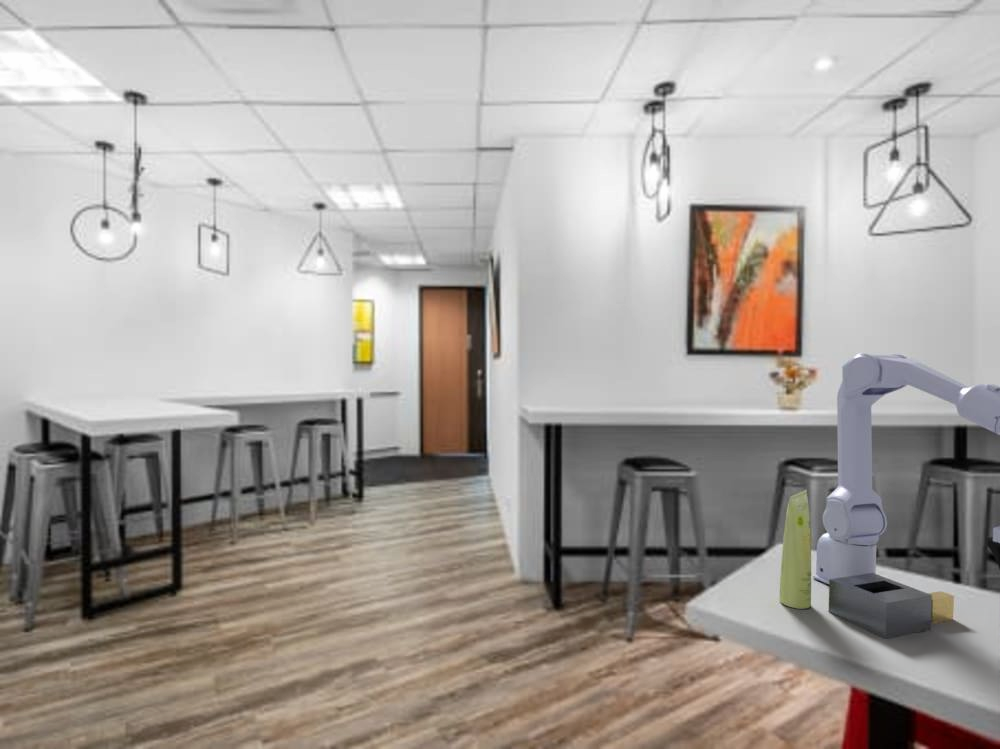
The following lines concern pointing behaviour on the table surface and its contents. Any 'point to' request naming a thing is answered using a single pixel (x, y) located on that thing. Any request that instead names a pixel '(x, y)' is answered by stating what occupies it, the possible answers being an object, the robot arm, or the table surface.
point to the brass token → (941, 607)
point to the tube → (796, 554)
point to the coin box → (880, 604)
